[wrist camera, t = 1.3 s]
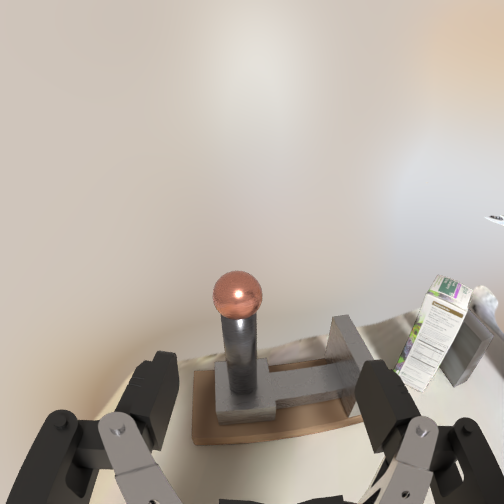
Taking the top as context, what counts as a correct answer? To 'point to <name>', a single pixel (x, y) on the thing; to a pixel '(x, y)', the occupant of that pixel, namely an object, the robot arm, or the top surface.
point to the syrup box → (433, 331)
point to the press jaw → (256, 370)
